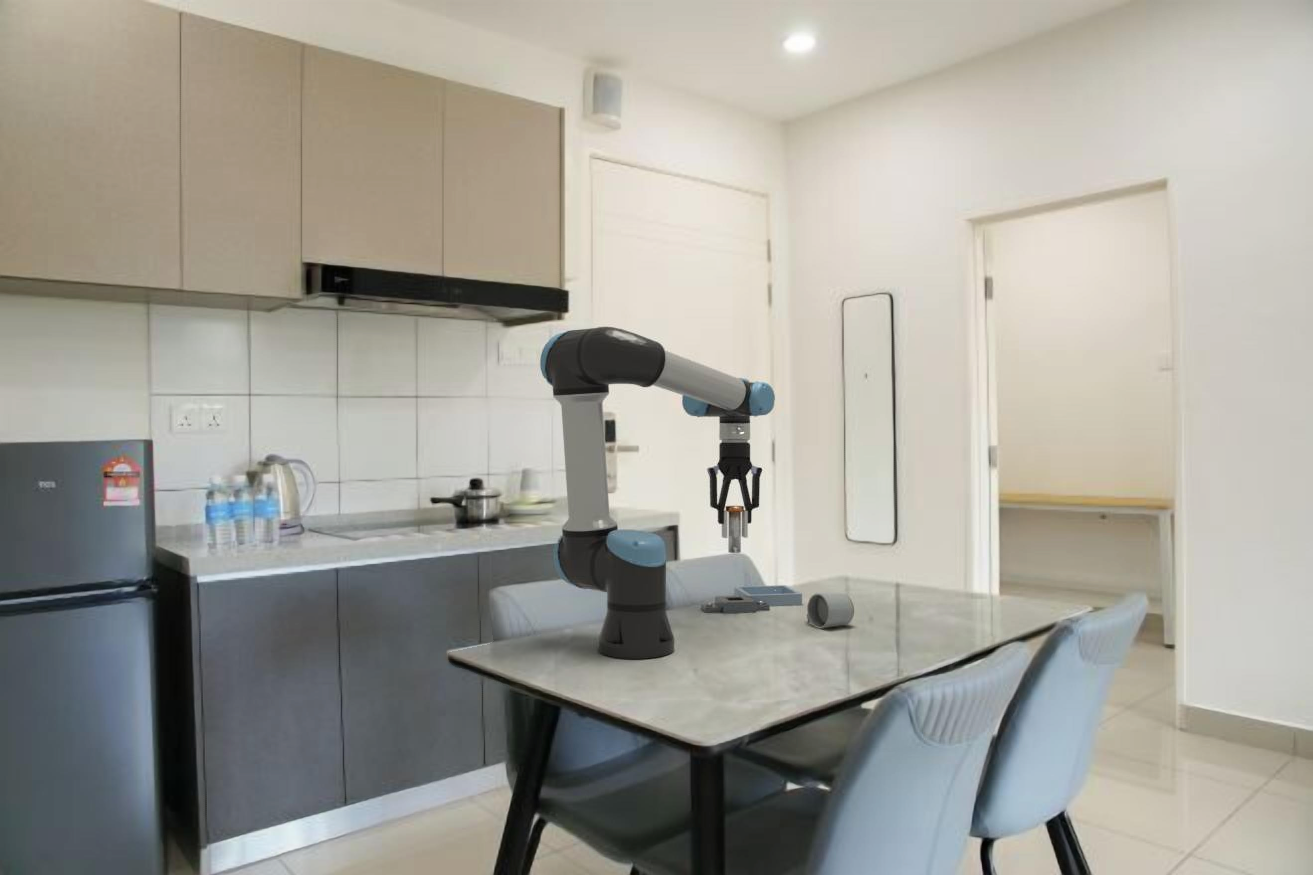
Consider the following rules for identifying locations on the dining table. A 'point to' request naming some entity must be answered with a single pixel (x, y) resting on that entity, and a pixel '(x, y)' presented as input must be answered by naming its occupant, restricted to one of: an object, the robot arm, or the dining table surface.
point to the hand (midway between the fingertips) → (734, 536)
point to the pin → (734, 528)
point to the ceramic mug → (829, 610)
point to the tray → (771, 594)
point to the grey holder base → (734, 605)
